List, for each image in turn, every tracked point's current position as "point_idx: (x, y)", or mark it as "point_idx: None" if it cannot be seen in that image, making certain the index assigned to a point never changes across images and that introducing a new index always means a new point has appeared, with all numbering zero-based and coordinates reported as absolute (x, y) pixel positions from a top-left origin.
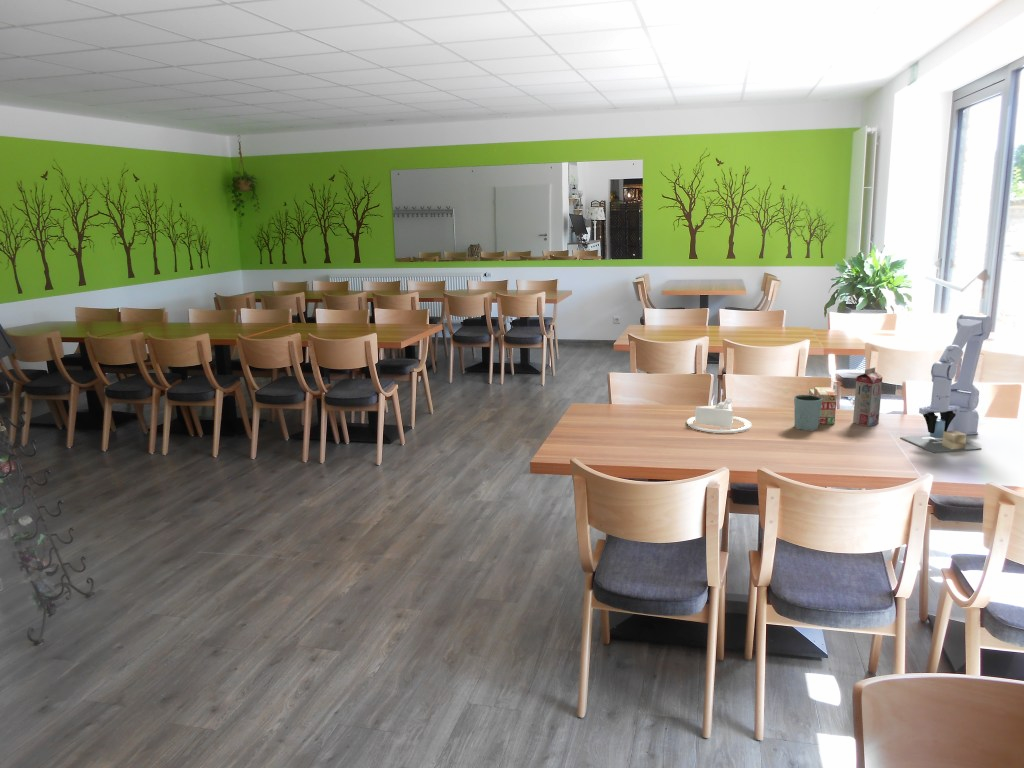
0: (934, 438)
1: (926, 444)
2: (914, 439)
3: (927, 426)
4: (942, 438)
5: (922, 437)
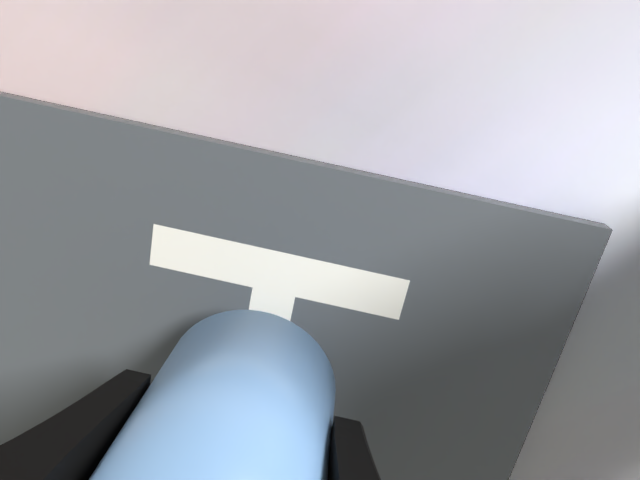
0: (285, 317)
1: (22, 423)
2: (21, 242)
3: (65, 412)
4: (376, 357)
5: (179, 224)
